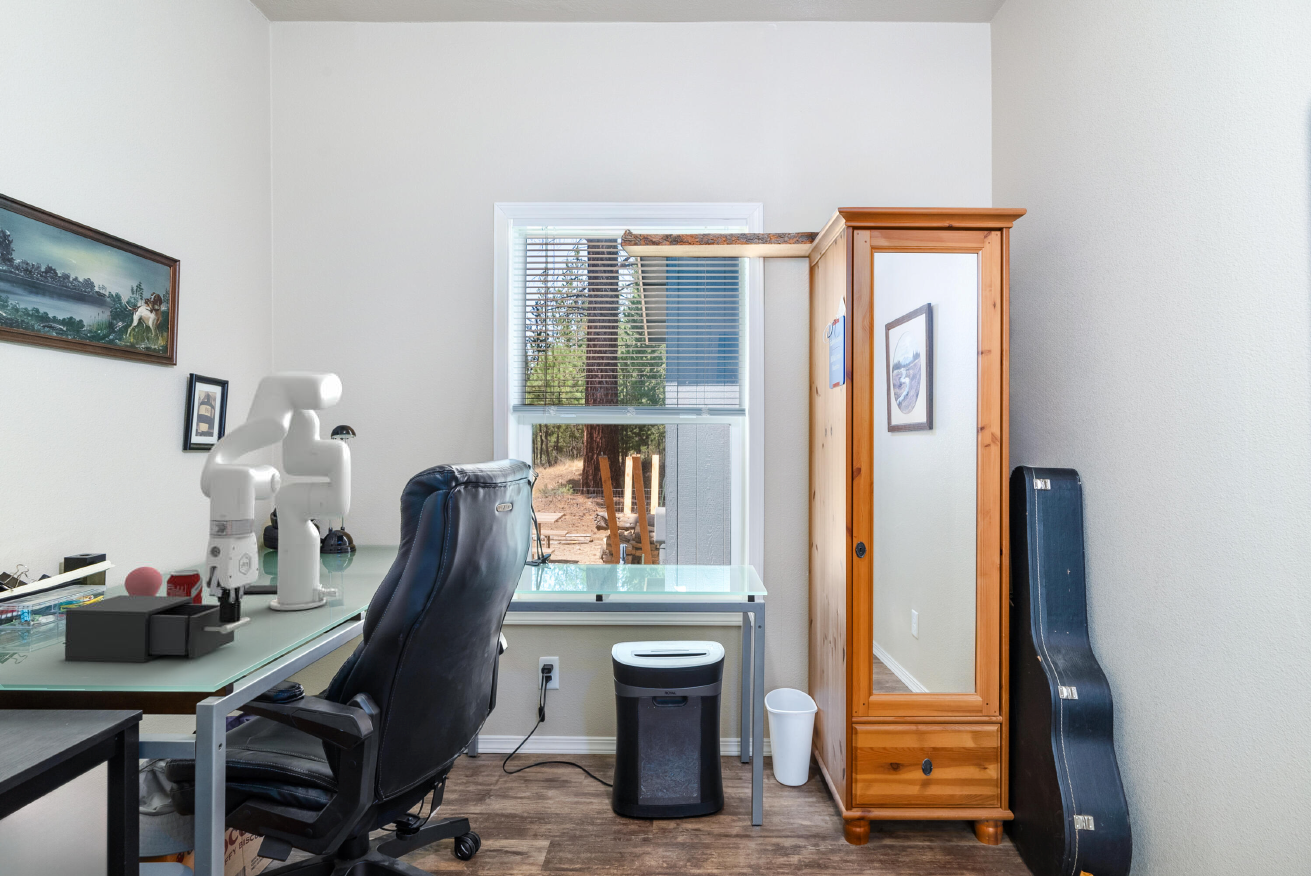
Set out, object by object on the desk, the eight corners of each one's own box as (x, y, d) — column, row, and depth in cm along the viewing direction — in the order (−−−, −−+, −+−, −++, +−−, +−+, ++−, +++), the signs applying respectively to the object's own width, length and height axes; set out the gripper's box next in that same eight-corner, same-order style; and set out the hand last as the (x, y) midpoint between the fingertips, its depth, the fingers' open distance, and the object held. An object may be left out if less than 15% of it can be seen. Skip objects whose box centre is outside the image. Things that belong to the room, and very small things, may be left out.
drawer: (256, 641, 141) (257, 603, 141) (219, 658, 129) (220, 617, 130) (165, 639, 142) (166, 601, 142) (120, 656, 130) (121, 615, 130)
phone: (288, 590, 189) (229, 591, 186) (288, 593, 189) (228, 594, 186) (297, 584, 196) (240, 585, 193) (297, 587, 196) (240, 588, 193)
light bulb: (116, 619, 159) (117, 568, 159) (149, 612, 166) (150, 563, 166) (136, 623, 157) (137, 570, 157) (168, 616, 163) (169, 565, 163)
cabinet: (192, 643, 142) (192, 596, 142) (144, 662, 129) (145, 611, 129) (119, 641, 143) (120, 595, 143) (64, 660, 130) (65, 609, 130)
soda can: (183, 629, 152) (184, 575, 152) (158, 627, 153) (159, 573, 153) (209, 621, 159) (210, 569, 159) (184, 619, 160) (185, 568, 160)
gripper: (225, 533, 128) (222, 632, 127) (273, 524, 143) (271, 613, 142) (186, 532, 128) (183, 631, 128) (238, 524, 143) (235, 612, 143)
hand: (229, 621), depth 135 cm, fingers closed
